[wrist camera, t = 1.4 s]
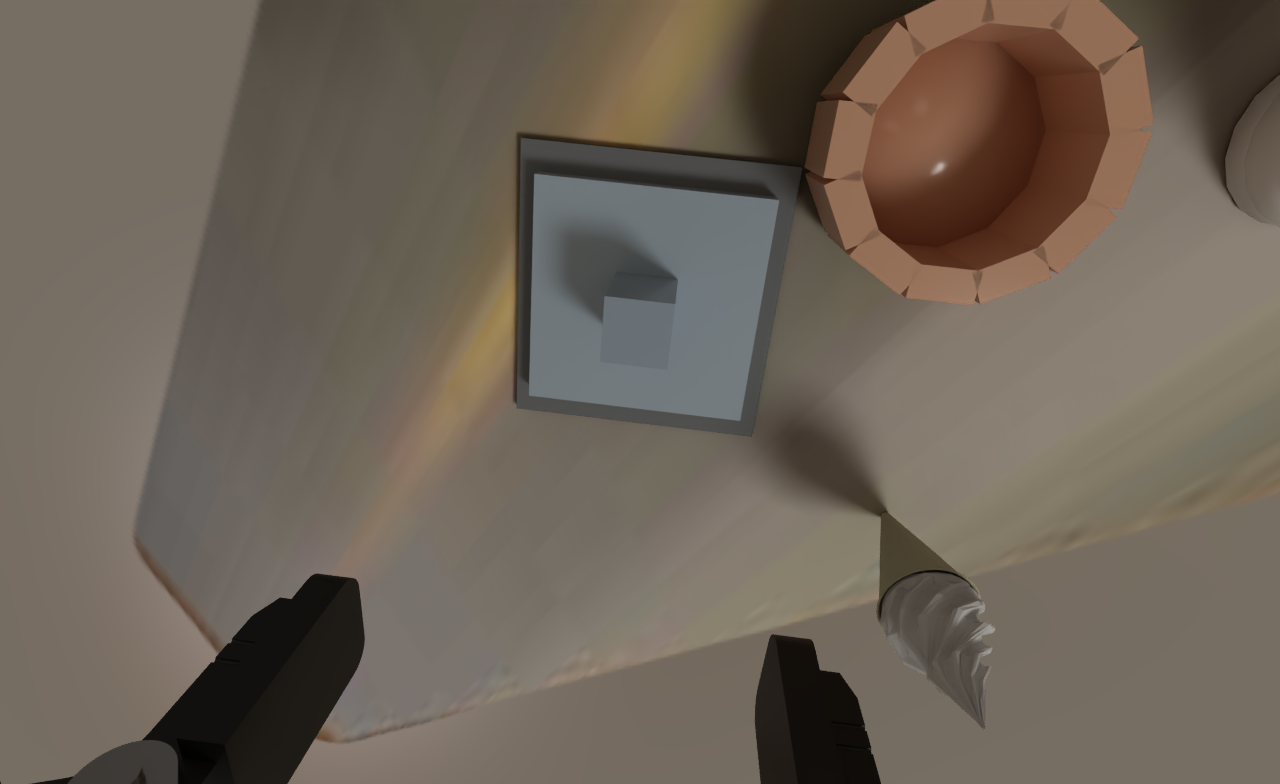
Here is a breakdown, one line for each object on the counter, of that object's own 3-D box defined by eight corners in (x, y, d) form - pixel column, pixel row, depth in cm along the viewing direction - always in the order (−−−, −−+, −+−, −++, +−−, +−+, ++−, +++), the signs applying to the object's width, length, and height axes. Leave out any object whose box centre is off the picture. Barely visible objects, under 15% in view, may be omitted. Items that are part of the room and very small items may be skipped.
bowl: (834, -10, 29) (867, -38, 23) (1107, 16, 28) (1206, -6, 23) (784, 257, 33) (801, 286, 28) (1016, 282, 33) (1079, 317, 28)
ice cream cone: (910, 467, 38) (1032, 670, 24) (939, 531, 39) (1068, 755, 26) (830, 498, 39) (902, 707, 25) (860, 559, 41) (944, 786, 27)
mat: (522, 137, 32) (520, 137, 32) (801, 166, 32) (802, 167, 31) (518, 405, 38) (516, 408, 38) (751, 433, 38) (751, 436, 37)
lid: (539, 171, 32) (509, 183, 27) (776, 197, 32) (792, 214, 27) (533, 387, 37) (506, 433, 32) (738, 411, 37) (745, 462, 32)
